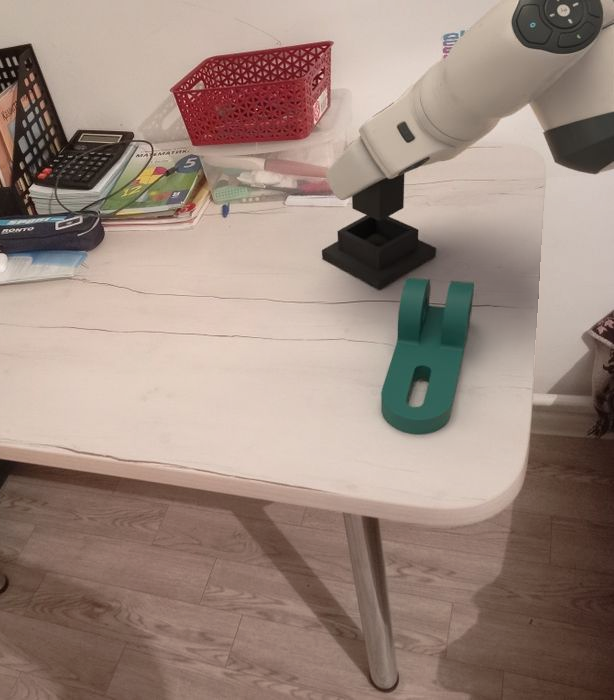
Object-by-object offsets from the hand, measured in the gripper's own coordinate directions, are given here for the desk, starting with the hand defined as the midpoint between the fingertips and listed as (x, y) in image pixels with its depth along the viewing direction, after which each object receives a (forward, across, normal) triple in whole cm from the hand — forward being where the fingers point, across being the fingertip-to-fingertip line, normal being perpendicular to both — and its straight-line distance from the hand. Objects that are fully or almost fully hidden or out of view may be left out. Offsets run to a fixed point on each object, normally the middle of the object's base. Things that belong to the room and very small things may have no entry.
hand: (374, 174), depth 79 cm
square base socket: (+8, 0, +9) cm, 13 cm away
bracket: (-6, +12, +23) cm, 27 cm away
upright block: (+3, 0, +4) cm, 5 cm away
